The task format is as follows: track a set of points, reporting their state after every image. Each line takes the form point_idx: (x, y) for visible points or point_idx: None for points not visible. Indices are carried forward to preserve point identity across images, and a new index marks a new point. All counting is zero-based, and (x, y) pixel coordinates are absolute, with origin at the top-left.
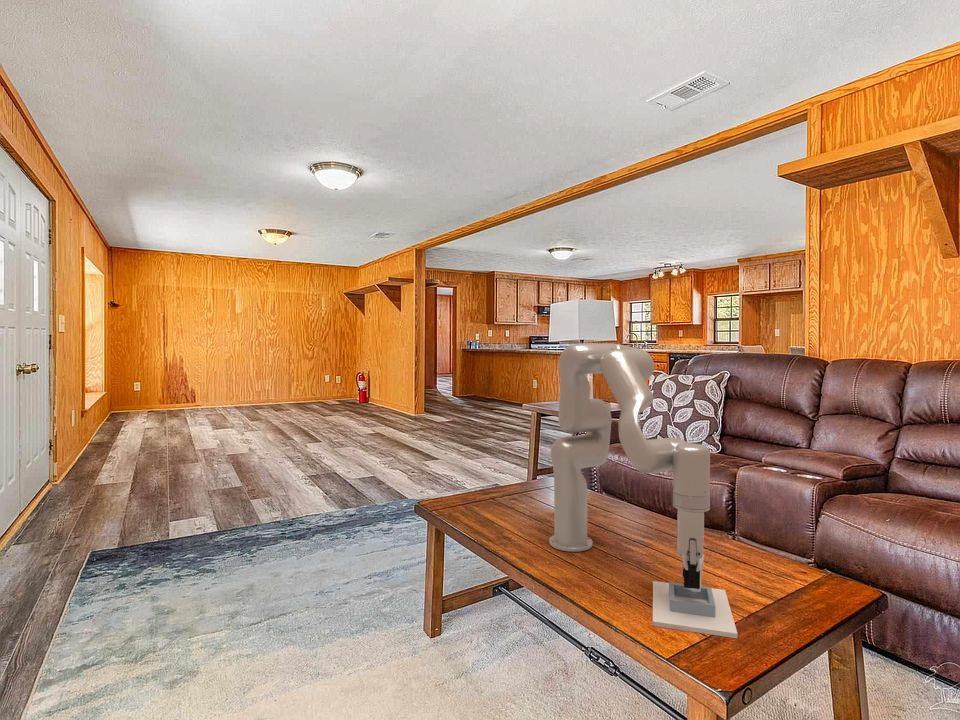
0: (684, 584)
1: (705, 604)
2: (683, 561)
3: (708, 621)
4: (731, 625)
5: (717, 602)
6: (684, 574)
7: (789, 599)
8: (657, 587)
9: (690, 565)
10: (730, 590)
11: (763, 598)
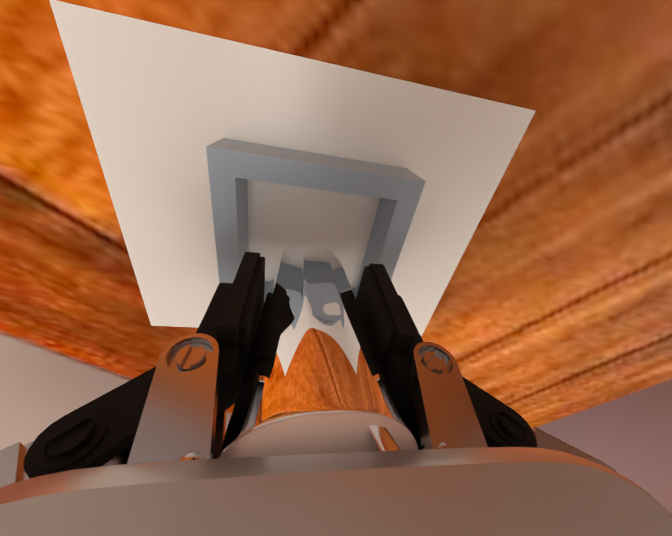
0: (244, 259)
1: None
2: (292, 361)
3: (193, 268)
4: (197, 320)
5: None
6: (227, 299)
7: None
8: (465, 122)
9: (1, 453)
10: (436, 340)
11: None
